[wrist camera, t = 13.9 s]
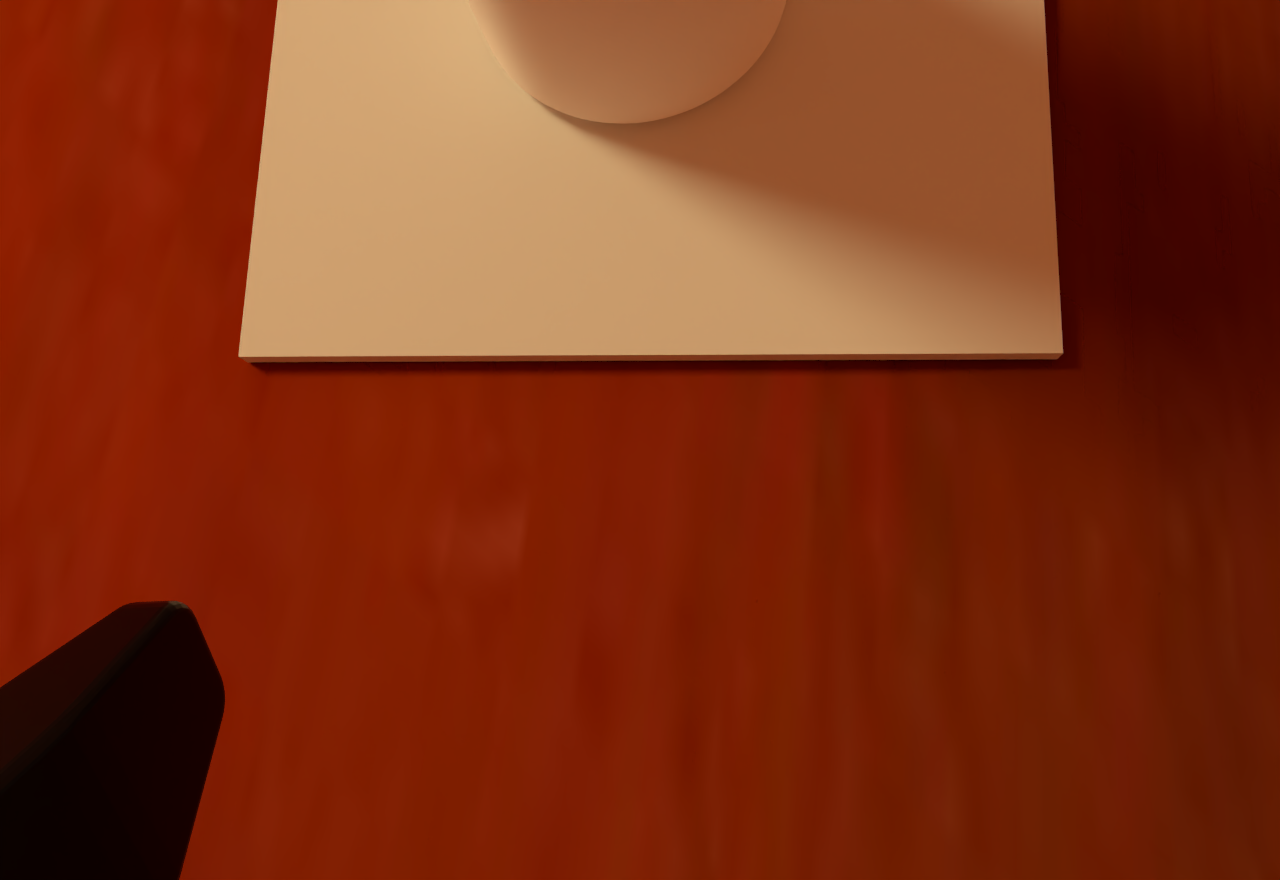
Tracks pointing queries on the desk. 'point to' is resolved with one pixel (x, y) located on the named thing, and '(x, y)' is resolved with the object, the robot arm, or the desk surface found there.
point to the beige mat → (658, 197)
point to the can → (626, 51)
